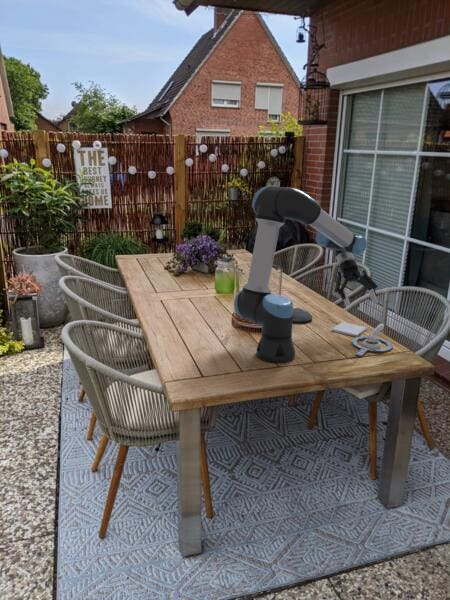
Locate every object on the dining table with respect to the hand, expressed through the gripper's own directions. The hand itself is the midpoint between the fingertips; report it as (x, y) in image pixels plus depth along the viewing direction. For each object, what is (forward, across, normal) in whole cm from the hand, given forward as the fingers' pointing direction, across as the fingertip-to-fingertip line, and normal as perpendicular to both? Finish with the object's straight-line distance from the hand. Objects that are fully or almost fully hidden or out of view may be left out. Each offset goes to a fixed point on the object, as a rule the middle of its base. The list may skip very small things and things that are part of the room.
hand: (362, 304), depth 192 cm
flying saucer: (-9, +17, -31) cm, 36 cm away
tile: (+5, 0, -16) cm, 17 cm away
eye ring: (+19, +3, -1) cm, 20 cm away
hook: (+18, 0, -3) cm, 18 cm away
